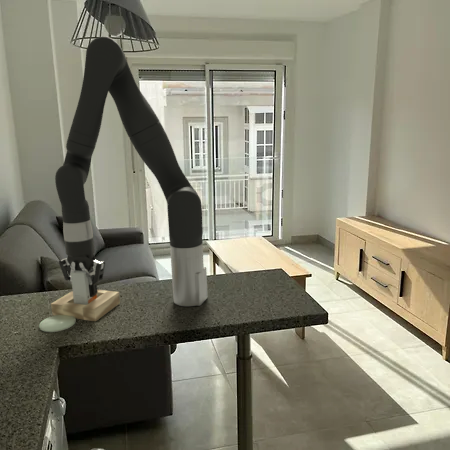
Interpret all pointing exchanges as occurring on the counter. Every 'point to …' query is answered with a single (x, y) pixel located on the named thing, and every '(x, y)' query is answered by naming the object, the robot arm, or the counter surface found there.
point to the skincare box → (81, 288)
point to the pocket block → (86, 306)
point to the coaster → (57, 323)
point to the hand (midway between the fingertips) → (85, 294)
